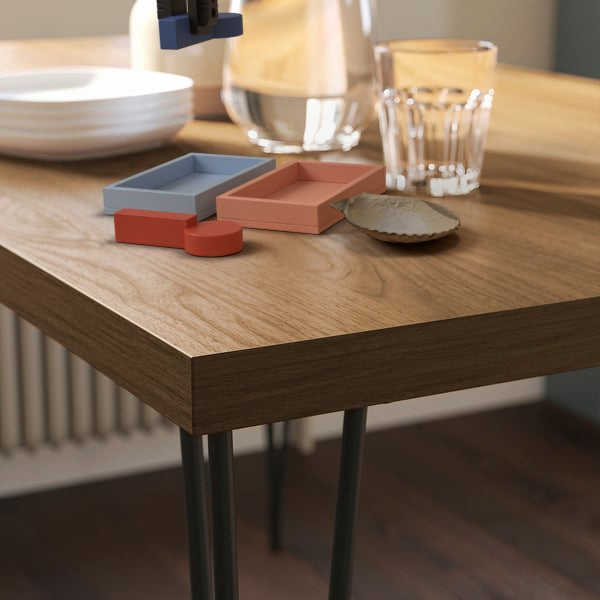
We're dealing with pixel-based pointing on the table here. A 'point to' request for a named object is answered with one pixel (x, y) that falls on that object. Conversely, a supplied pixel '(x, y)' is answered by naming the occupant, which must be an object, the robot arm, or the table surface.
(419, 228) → the seashell
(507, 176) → the table surface
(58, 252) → the table surface
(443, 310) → the table surface
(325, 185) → the tray red
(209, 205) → the tray blue
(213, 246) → the spoon red
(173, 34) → the spoon blue
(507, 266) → the table surface
